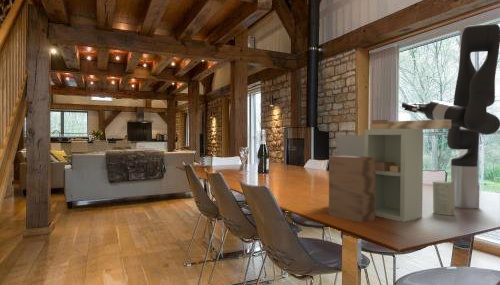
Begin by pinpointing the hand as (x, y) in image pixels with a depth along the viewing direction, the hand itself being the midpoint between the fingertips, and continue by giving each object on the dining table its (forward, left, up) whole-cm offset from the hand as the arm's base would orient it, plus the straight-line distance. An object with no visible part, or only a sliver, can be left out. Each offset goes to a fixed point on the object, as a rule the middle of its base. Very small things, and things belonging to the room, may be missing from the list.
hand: (411, 104), depth 137 cm
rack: (+16, +15, -43) cm, 48 cm away
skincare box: (-5, +14, -43) cm, 46 cm away
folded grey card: (+23, -3, -43) cm, 49 cm away
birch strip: (+12, +18, -11) cm, 24 cm away
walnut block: (+33, +17, -43) cm, 57 cm away
